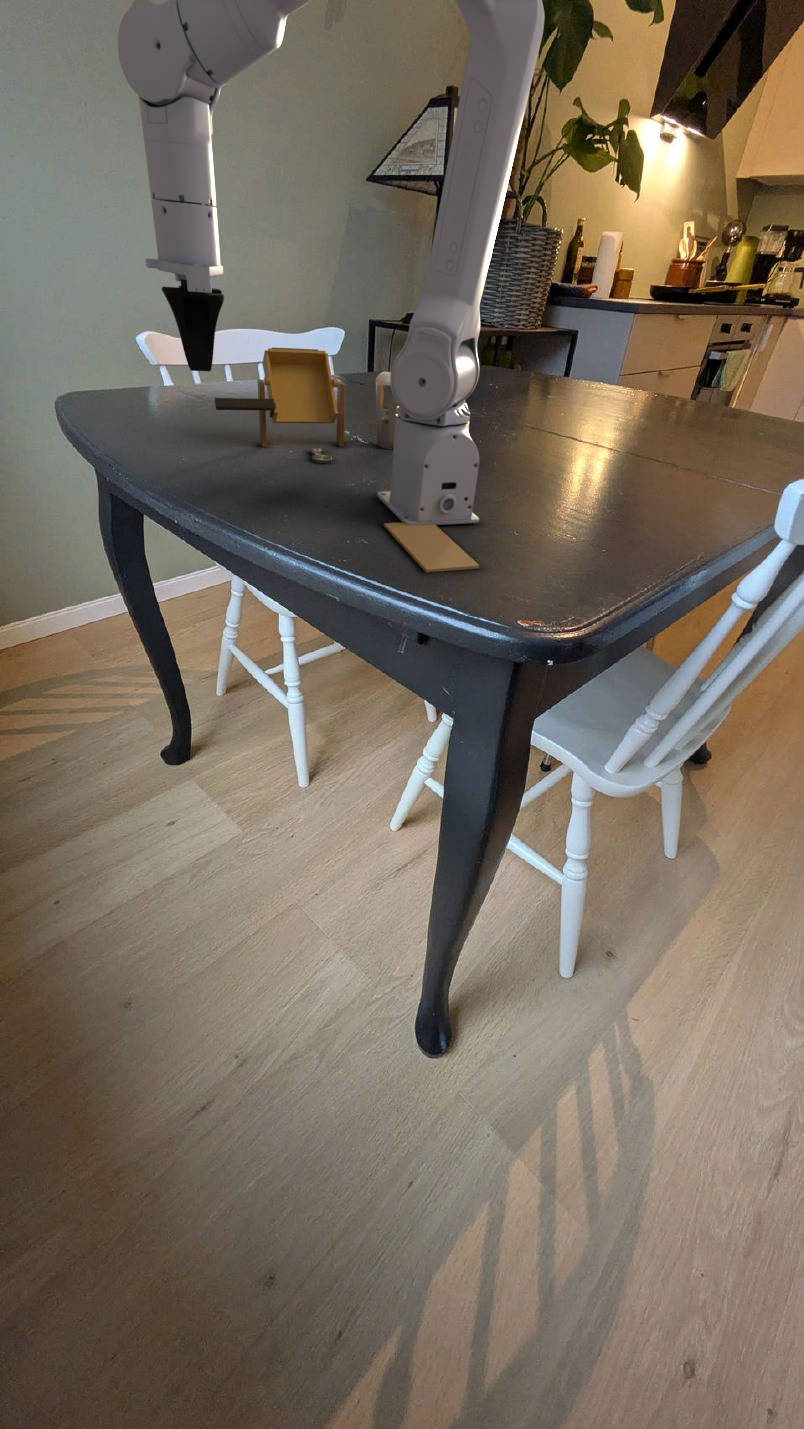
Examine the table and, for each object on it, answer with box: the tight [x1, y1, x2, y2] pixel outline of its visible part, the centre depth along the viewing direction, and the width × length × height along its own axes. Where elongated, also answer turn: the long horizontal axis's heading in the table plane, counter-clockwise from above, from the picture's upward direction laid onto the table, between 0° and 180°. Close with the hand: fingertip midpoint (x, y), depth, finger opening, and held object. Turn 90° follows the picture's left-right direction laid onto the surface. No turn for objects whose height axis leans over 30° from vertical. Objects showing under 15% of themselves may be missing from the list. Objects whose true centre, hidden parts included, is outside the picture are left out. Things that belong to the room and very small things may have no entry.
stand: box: [257, 379, 346, 448], centre depth 81 cm, size 2×11×8 cm, turn 110°
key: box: [308, 448, 333, 464], centre depth 79 cm, size 5×2×1 cm, turn 22°
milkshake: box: [375, 370, 398, 450], centre depth 84 cm, size 4×5×10 cm
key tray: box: [214, 347, 339, 424], centre depth 79 cm, size 9×16×3 cm
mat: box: [383, 521, 480, 573], centre depth 58 cm, size 11×5×1 cm, turn 20°
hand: (200, 370), depth 66 cm, fingers closed
